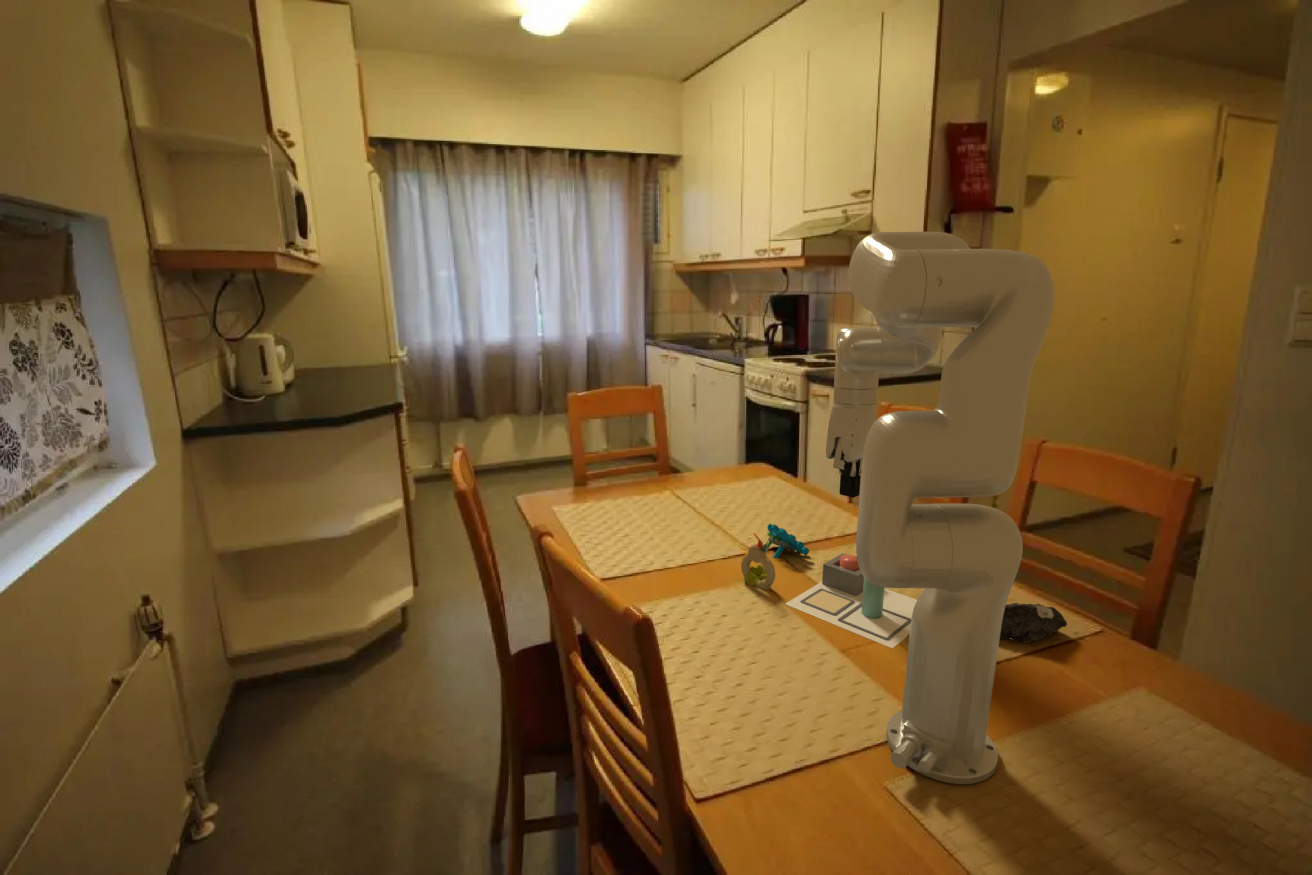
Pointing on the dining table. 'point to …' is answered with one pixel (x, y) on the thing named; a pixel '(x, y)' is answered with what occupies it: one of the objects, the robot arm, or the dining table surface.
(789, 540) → the toy dinosaur
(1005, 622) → the rock
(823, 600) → the cream board with squares
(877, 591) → the cylinder
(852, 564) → the button
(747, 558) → the grey ring ornament
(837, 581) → the button collar
